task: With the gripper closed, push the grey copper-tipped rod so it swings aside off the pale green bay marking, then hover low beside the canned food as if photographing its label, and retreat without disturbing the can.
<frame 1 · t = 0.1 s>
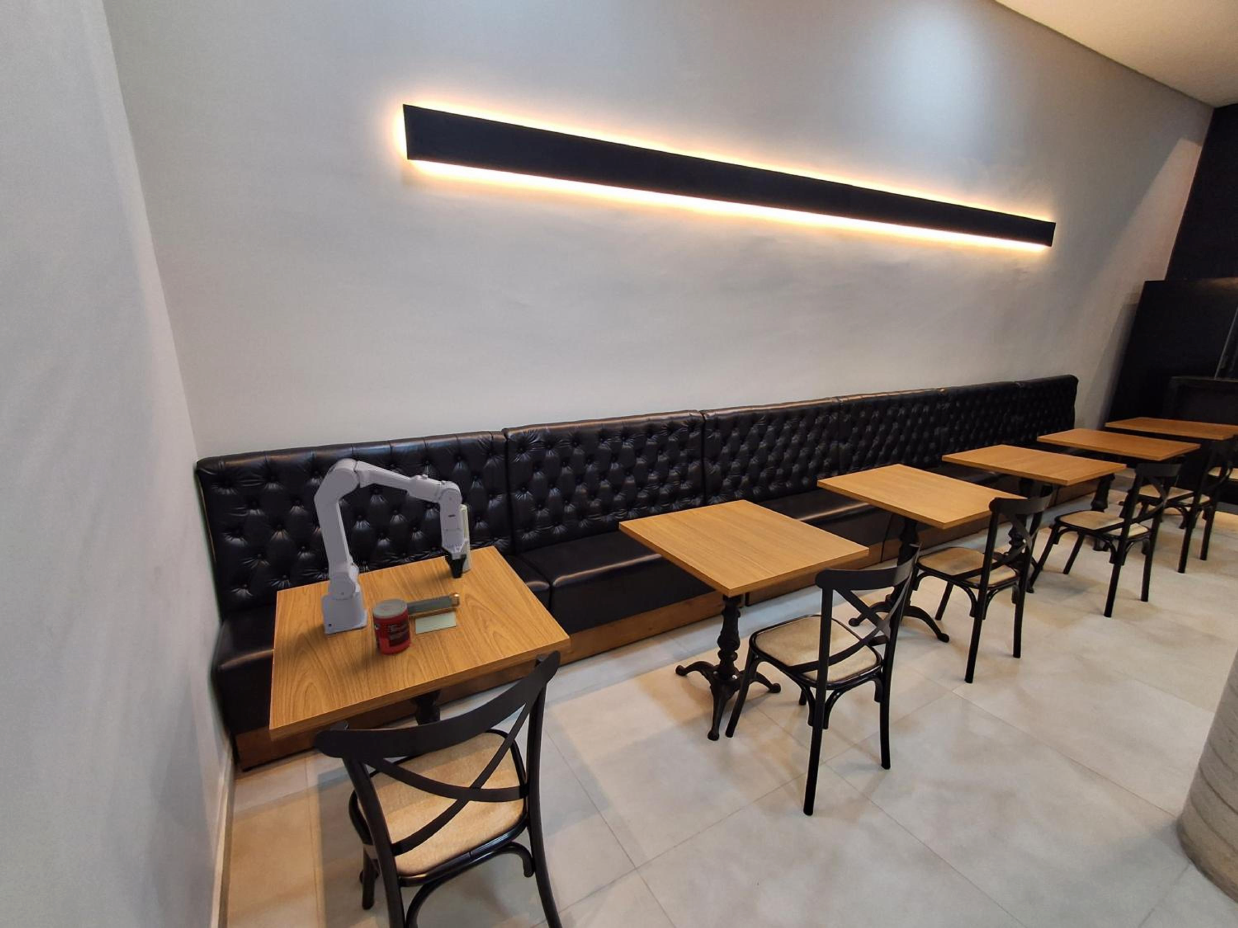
hand: (456, 571, 142), 10 cm above the table, fingers open, 7 cm apart
bay marking: (435, 622, 135), on the table
canned food: (394, 646, 126), on the table
grey copper-tipped rod: (424, 604, 138), point 3 cm above the table, hinge at 0.0°
paper towel roll: (460, 569, 163), on the table
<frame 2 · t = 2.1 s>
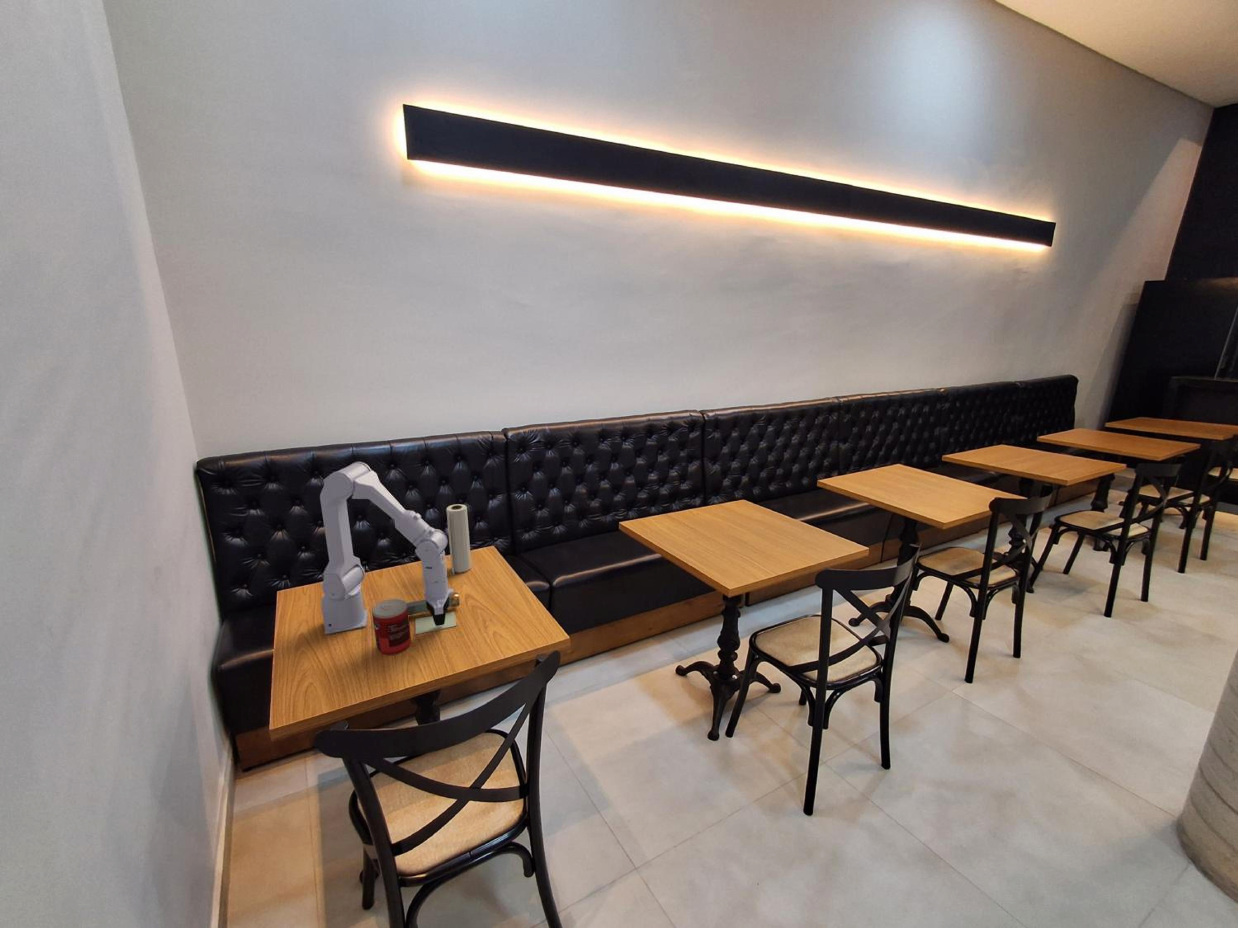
hand: (439, 623, 133), 1 cm above the table, fingers closed
nothing on the table moved.
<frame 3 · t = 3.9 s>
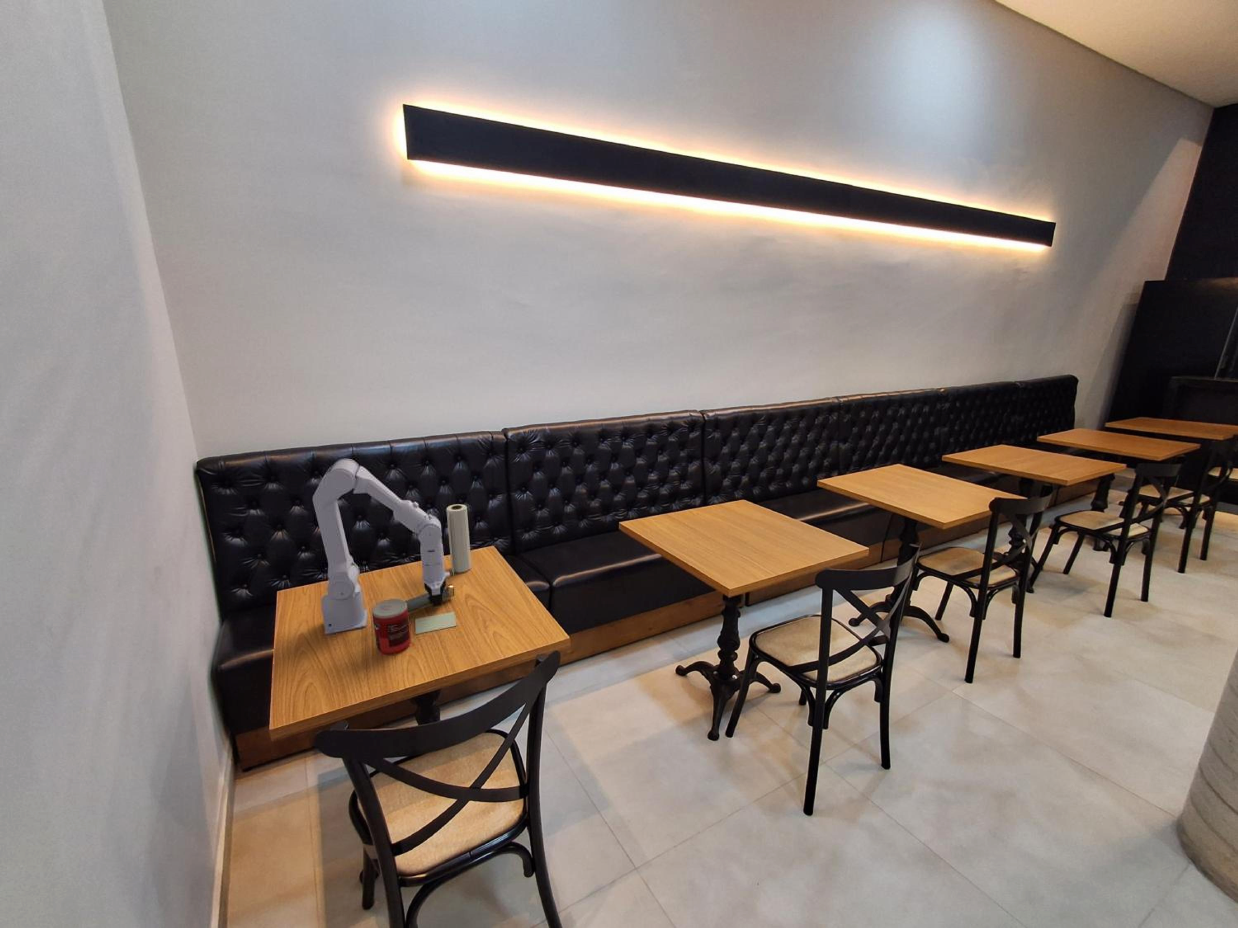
hand: (437, 605, 141), 1 cm above the table, fingers closed, pressing on grey copper-tipped rod
grey copper-tipped rod: (422, 600, 140), point 3 cm above the table, hinge at 20.8°, touching gripper
everything else where it was.
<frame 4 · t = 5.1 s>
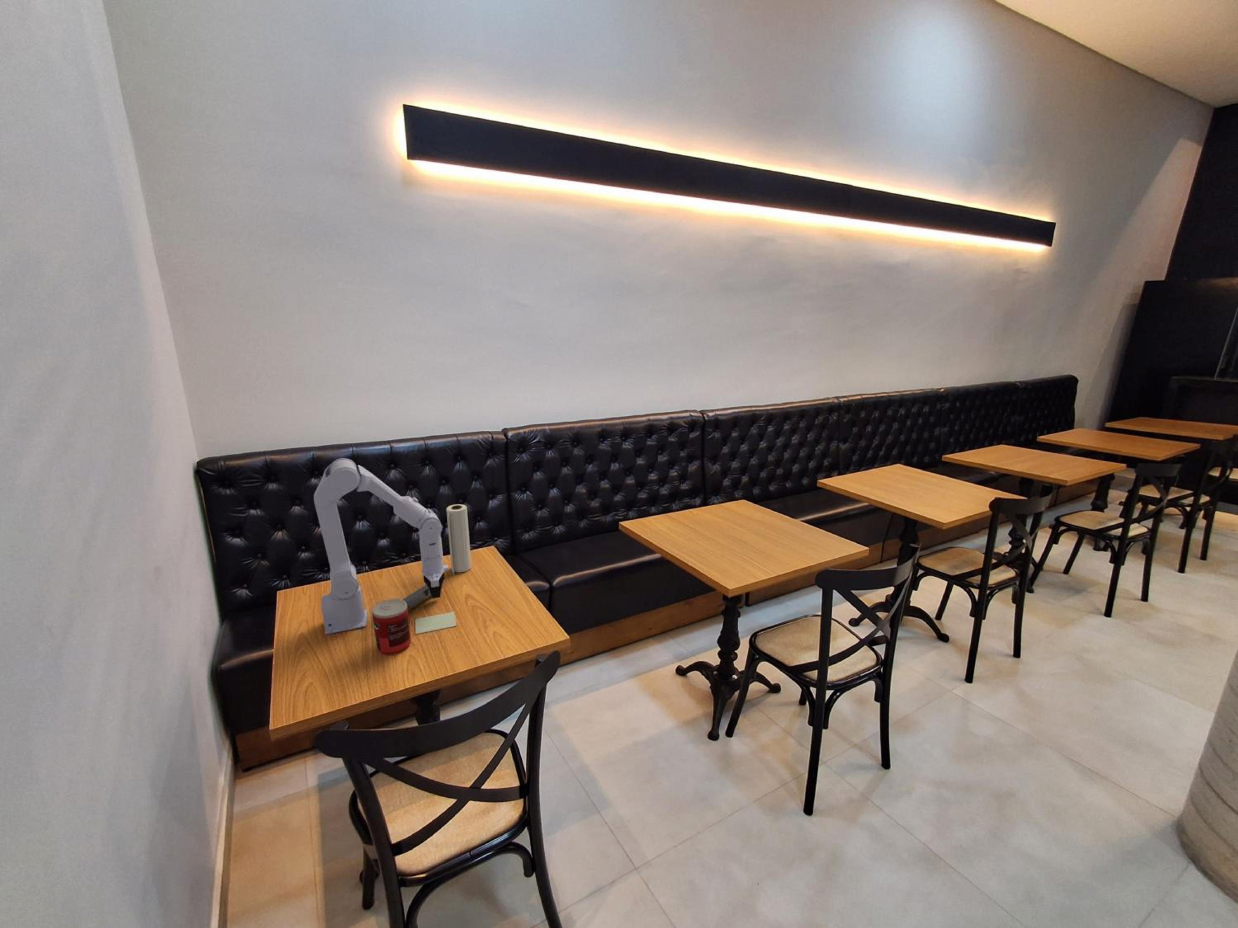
hand: (436, 597, 145), 1 cm above the table, fingers closed
grey copper-tipped rod: (416, 596, 142), point 3 cm above the table, hinge at 43.0°, touching gripper
everything else where it was.
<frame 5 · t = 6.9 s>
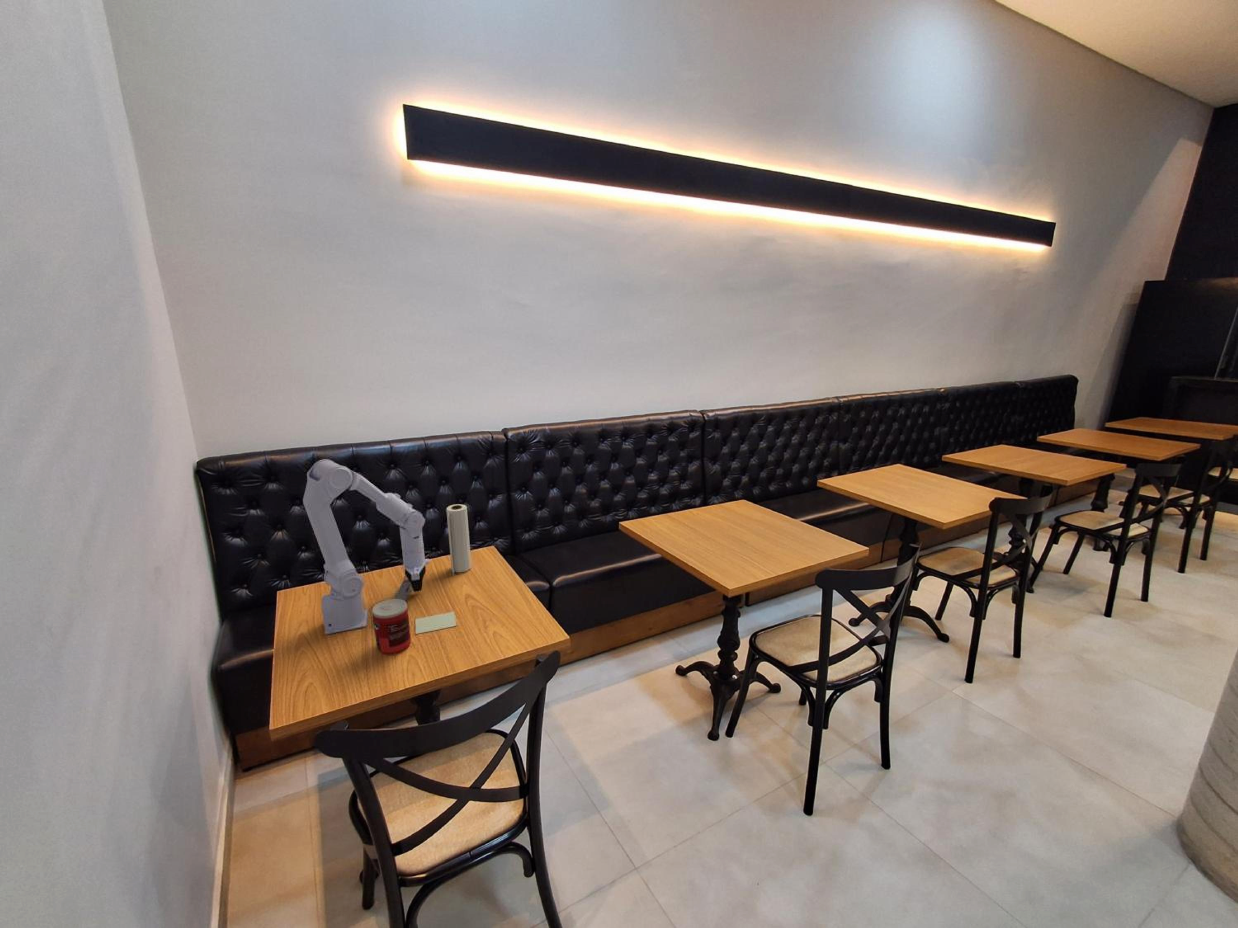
hand: (417, 590, 149), 1 cm above the table, fingers closed
grey copper-tipped rod: (401, 595, 143), point 3 cm above the table, hinge at 76.0°, touching gripper
everything else where it was.
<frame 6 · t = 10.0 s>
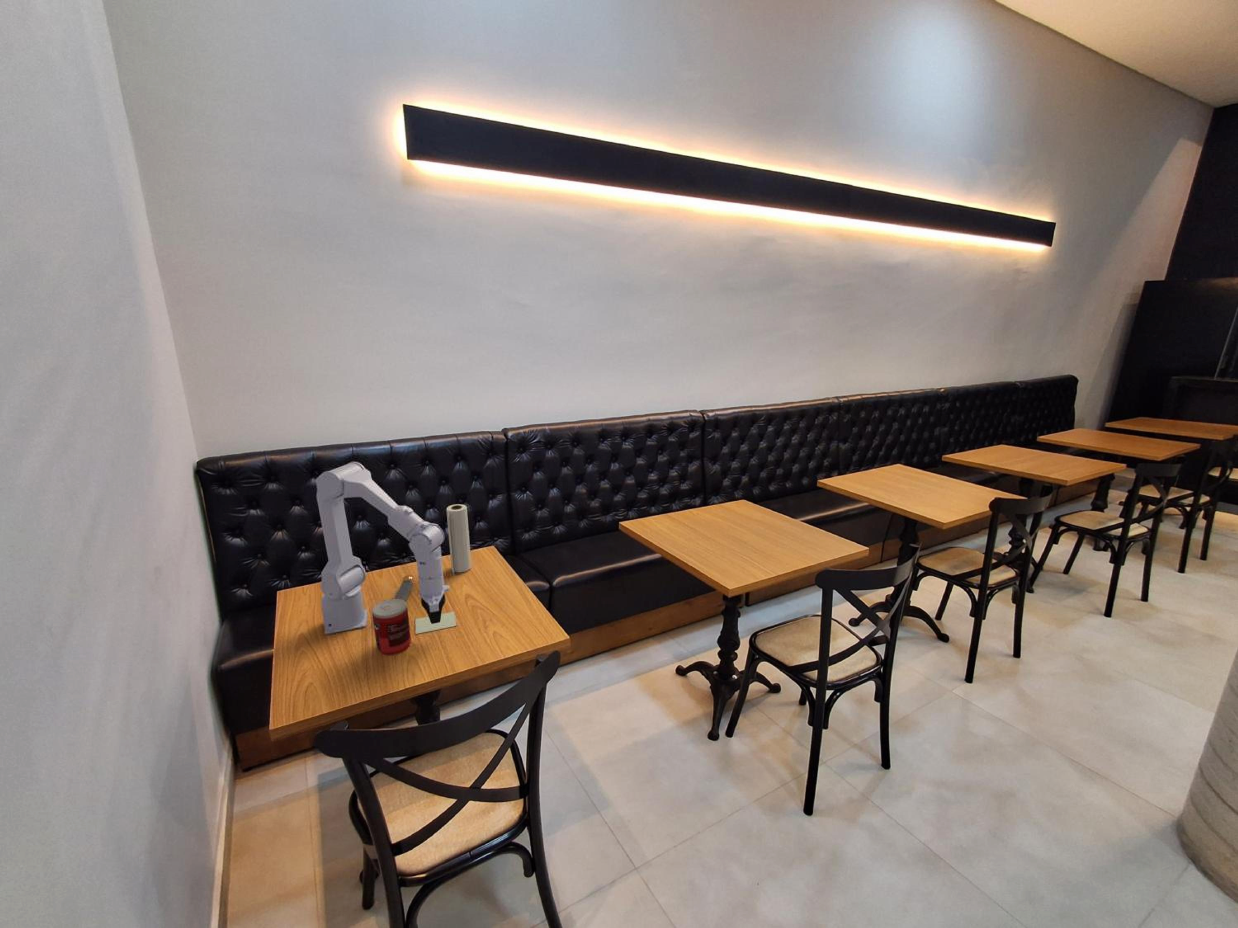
hand: (435, 621, 128), 4 cm above the table, fingers closed
grey copper-tipped rod: (401, 595, 143), point 3 cm above the table, hinge at 76.1°
everything else where it was.
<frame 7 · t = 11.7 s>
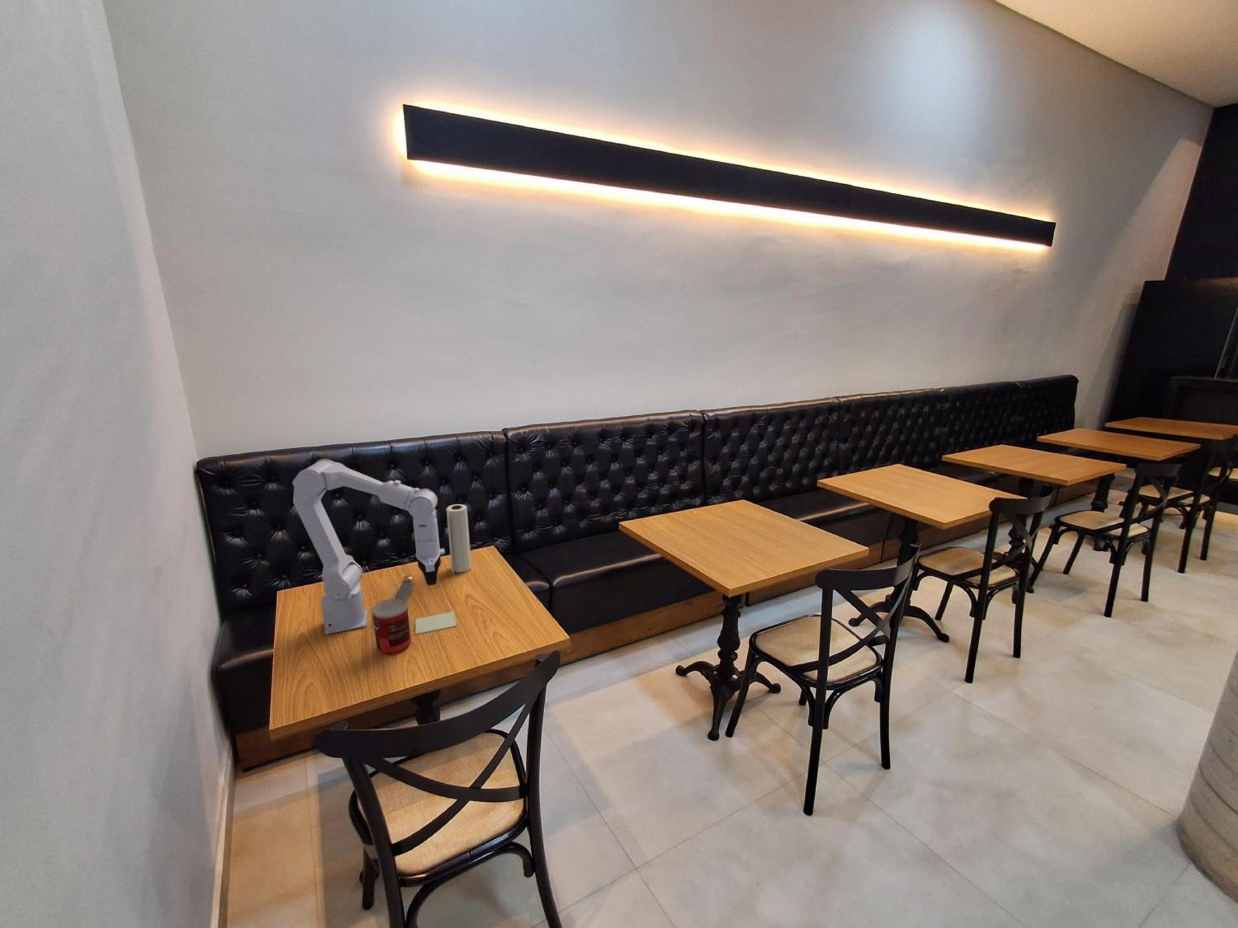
hand: (431, 583, 134), 10 cm above the table, fingers closed
nothing on the table moved.
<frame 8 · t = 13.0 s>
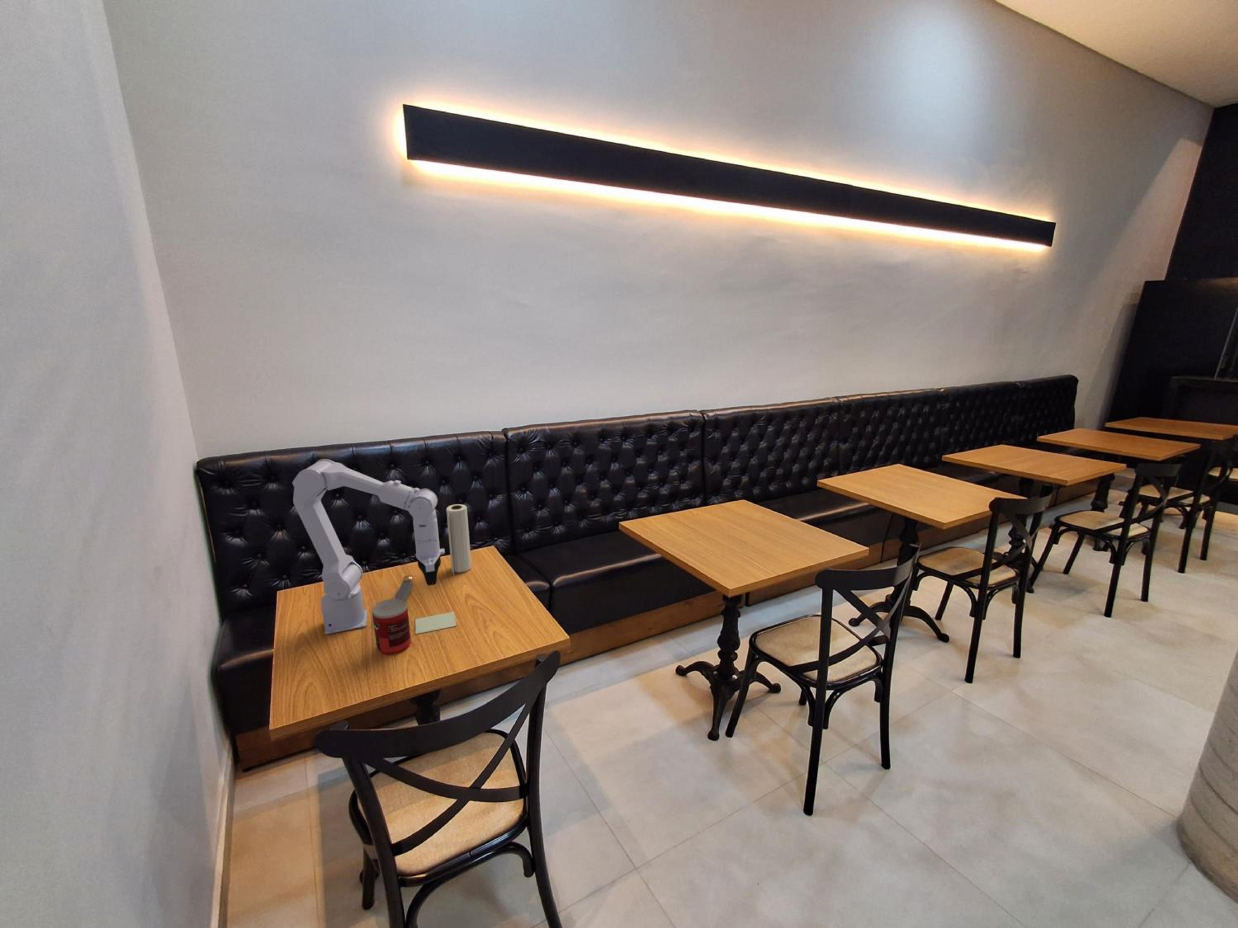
hand: (431, 583, 134), 10 cm above the table, fingers closed
nothing on the table moved.
at the end: grey copper-tipped rod at +76° (first picture: +0°); canned food moved 0.2 cm from its start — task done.
